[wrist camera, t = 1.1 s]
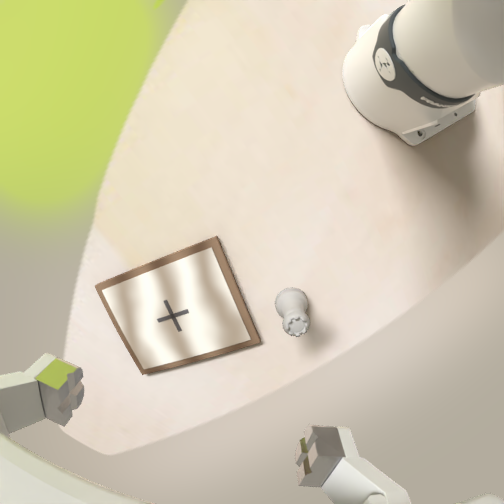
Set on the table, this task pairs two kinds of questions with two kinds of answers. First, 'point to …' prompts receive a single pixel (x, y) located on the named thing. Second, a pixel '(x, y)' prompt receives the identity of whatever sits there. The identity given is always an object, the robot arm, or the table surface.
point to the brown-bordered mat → (179, 308)
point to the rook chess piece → (293, 311)
